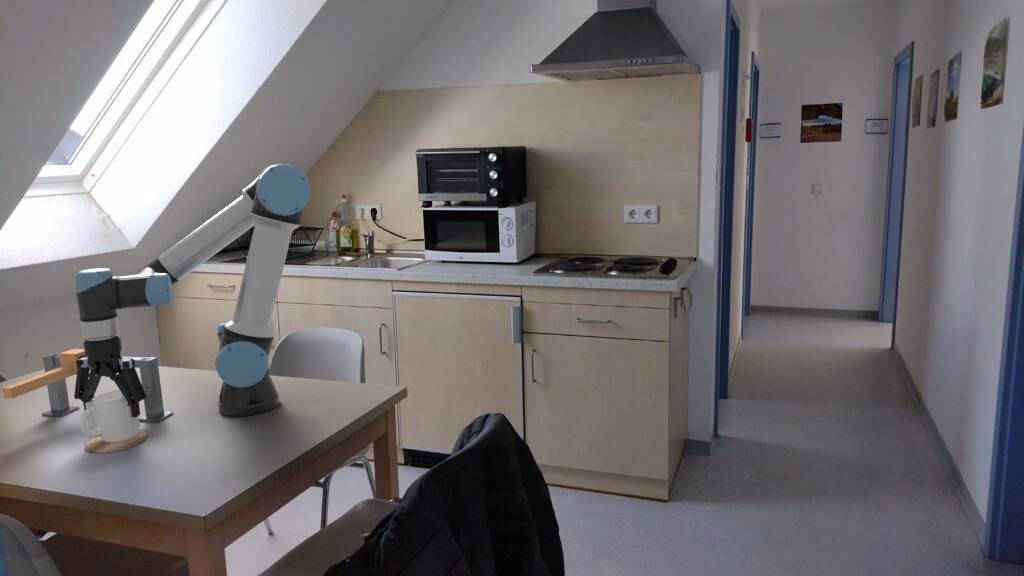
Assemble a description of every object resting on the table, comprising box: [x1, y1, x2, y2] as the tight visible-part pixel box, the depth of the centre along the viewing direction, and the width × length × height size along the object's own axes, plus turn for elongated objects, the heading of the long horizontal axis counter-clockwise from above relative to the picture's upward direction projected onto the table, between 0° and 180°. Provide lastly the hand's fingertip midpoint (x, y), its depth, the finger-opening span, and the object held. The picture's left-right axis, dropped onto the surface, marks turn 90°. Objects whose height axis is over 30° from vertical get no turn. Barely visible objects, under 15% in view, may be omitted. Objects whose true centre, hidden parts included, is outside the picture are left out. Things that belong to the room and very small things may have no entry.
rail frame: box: [41, 353, 174, 423], centre depth 195 cm, size 35×6×16 cm, turn 77°
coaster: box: [84, 429, 148, 454], centre depth 177 cm, size 13×13×1 cm
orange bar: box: [1, 348, 91, 399], centre depth 187 cm, size 5×23×6 cm, turn 166°
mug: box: [79, 389, 140, 443], centre depth 177 cm, size 12×8×10 cm
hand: (114, 428), depth 177 cm, fingers open, 10 cm apart
